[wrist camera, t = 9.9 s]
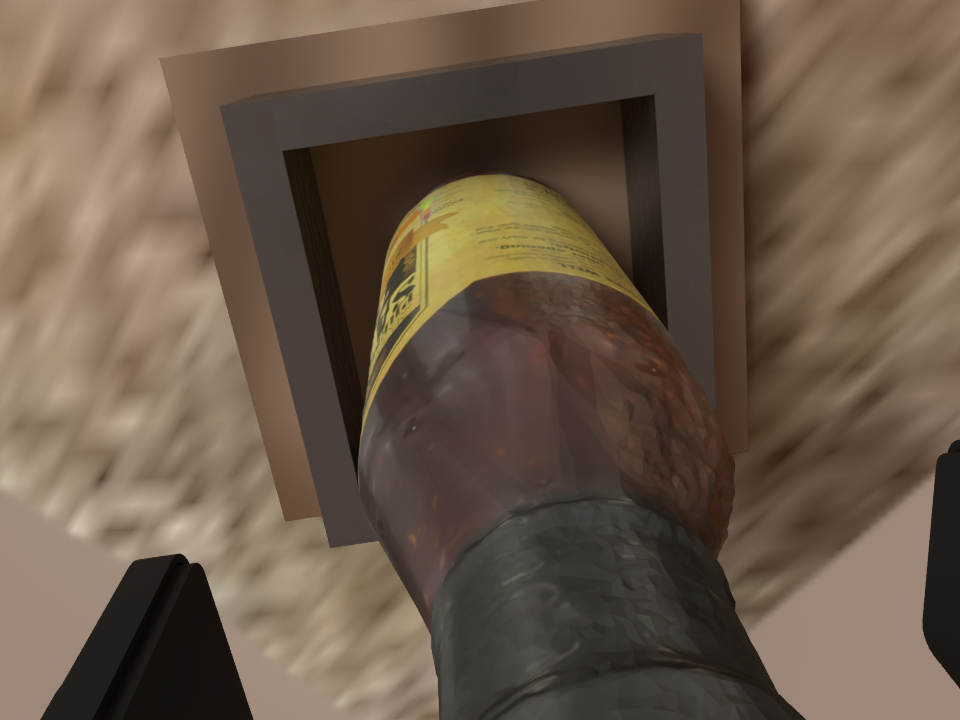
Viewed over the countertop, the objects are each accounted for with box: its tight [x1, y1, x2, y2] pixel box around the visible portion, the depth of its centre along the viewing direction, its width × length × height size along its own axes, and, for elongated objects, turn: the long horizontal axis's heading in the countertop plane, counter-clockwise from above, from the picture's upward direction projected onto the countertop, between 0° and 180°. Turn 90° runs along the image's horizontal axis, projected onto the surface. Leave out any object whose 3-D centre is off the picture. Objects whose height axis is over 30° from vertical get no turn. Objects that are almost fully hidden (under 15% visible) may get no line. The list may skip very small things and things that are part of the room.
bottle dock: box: [159, 0, 748, 548], centre depth 24 cm, size 16×15×6 cm
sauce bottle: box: [358, 170, 805, 720], centre depth 16 cm, size 6×6×20 cm
